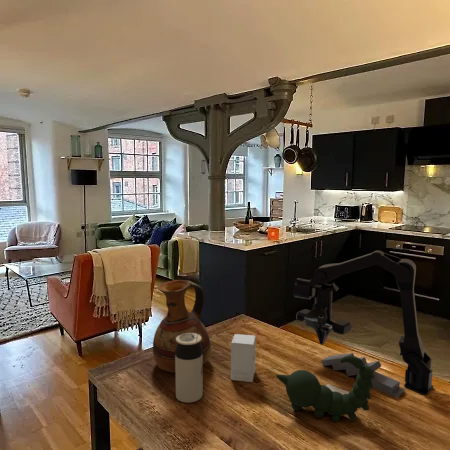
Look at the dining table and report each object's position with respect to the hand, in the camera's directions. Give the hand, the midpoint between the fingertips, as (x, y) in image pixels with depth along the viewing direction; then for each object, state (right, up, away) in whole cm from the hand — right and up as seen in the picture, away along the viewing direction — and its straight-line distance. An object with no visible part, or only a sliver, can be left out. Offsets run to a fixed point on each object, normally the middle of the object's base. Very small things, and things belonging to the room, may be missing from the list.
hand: (321, 344), depth 127 cm
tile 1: (+1, -6, 0) cm, 6 cm away
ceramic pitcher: (-49, -7, -1) cm, 50 cm away
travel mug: (-45, -9, -20) cm, 50 cm away
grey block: (+11, -6, -11) cm, 16 cm away
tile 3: (+8, -7, -7) cm, 12 cm away
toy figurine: (-8, -10, -28) cm, 31 cm away
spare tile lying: (0, -9, -21) cm, 23 cm away
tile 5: (+12, -8, -12) cm, 18 cm away
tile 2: (+4, -6, -3) cm, 8 cm away
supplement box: (-28, -8, -9) cm, 31 cm away
